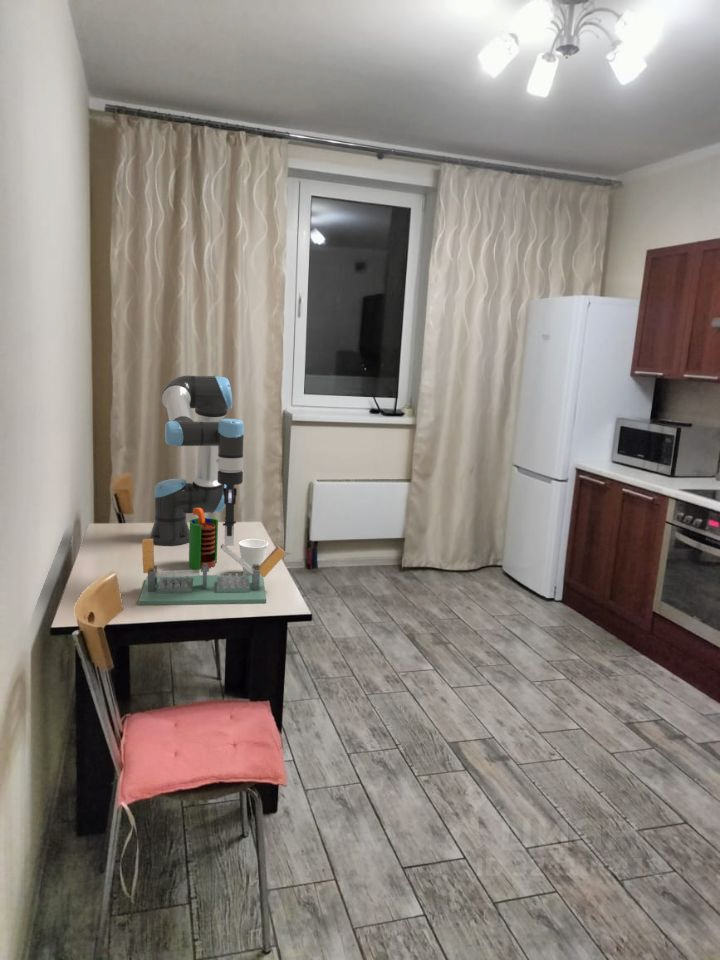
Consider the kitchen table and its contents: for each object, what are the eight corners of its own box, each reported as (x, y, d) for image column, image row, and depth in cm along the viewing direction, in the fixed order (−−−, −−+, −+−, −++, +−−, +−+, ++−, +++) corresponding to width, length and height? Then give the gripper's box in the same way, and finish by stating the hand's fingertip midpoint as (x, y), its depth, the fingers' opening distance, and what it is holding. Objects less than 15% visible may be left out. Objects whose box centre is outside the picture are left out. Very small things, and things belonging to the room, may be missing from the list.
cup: (241, 568, 239) (241, 537, 237) (269, 570, 239) (270, 539, 237) (235, 578, 229) (235, 546, 227) (264, 580, 229) (265, 548, 227)
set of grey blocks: (150, 582, 218) (150, 560, 217) (258, 581, 224) (258, 559, 223) (147, 593, 209) (147, 570, 207) (259, 592, 215) (260, 569, 213)
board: (147, 579, 224) (147, 575, 224) (262, 578, 231) (262, 574, 231) (138, 605, 203) (138, 601, 202) (266, 602, 210) (266, 599, 209)
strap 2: (259, 579, 221) (284, 551, 220) (260, 582, 218) (285, 554, 218) (219, 547, 216) (245, 518, 216) (219, 550, 213) (245, 521, 213)
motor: (208, 571, 235) (208, 513, 231) (183, 568, 236) (183, 511, 233) (220, 562, 245) (220, 507, 241) (196, 559, 246) (196, 504, 242)
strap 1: (143, 579, 211) (141, 541, 209) (144, 576, 214) (143, 538, 211) (199, 577, 214) (198, 540, 212) (199, 574, 217) (198, 537, 214)
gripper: (218, 466, 216) (217, 539, 221) (217, 474, 204) (216, 551, 208) (242, 466, 217) (241, 539, 222) (243, 474, 205) (241, 551, 210)
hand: (229, 544), depth 215 cm, fingers closed
